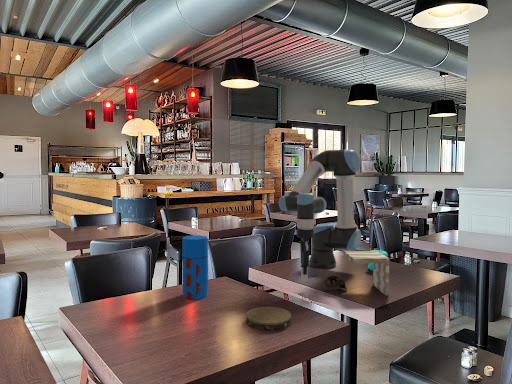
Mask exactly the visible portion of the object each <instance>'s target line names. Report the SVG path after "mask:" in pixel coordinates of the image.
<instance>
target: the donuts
mask: <svg viewBox="0 0 512 384" xmlns="http://www.w3.org/2000/svg"><path fill="white" fill-rule="evenodd" d="M371 251H378V252H379V253H381V254H383V255H384V256H386V257H388V256H389V254H388V252H387V251H384V250H380V249H373V250H371ZM367 268H368V269H369V270H370V271H372V272H373V263H368V265H367Z"/></svg>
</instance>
